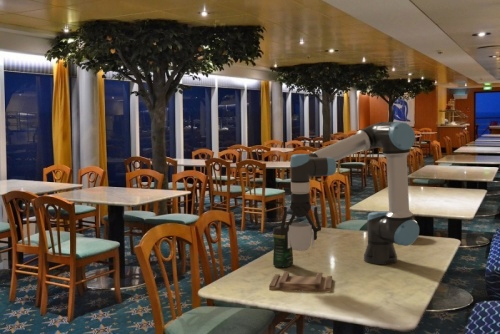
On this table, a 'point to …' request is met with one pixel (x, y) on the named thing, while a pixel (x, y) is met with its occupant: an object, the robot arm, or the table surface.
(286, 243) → the coffee jar
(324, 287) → the rack
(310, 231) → the mug
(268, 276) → the table surface
